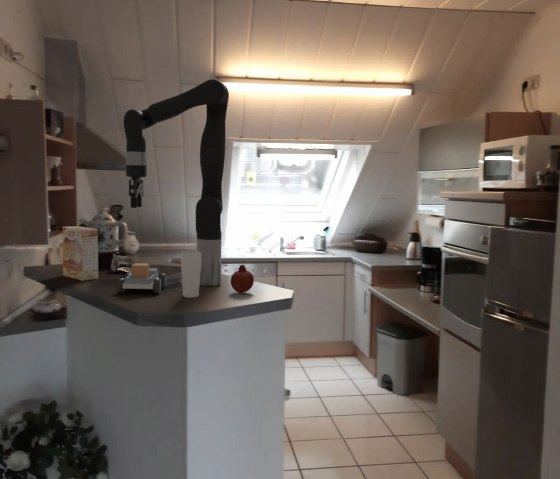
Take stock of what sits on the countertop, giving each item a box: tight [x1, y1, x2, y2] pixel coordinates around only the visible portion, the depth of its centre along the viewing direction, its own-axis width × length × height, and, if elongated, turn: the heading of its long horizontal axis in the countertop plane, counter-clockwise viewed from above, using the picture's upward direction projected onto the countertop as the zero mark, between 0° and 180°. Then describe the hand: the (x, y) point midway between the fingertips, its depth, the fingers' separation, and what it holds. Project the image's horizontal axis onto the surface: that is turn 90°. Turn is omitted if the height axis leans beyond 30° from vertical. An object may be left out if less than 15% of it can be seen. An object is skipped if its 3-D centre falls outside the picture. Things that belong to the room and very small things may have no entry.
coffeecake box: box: [61, 226, 99, 282], centre depth 208 cm, size 15×7×20 cm, turn 49°
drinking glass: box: [180, 250, 202, 299], centre depth 178 cm, size 7×7×15 cm
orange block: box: [132, 262, 151, 278], centre depth 184 cm, size 5×5×6 cm
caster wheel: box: [110, 253, 136, 273], centre depth 224 cm, size 7×11×10 cm
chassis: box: [116, 267, 167, 294], centre depth 187 cm, size 14×16×6 cm
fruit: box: [230, 264, 255, 294], centre depth 186 cm, size 8×8×10 cm
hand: (136, 207), depth 202 cm, fingers open, 8 cm apart
